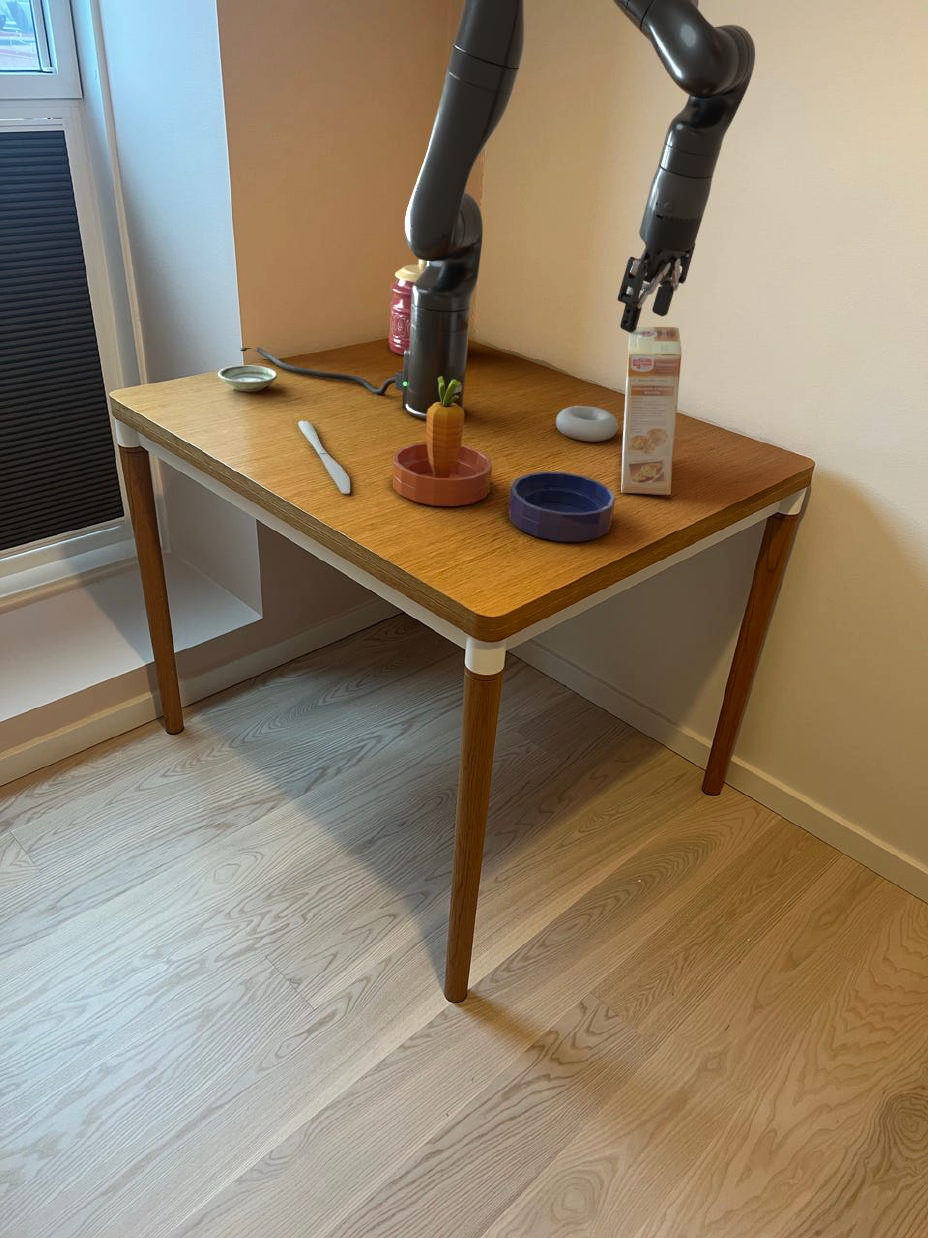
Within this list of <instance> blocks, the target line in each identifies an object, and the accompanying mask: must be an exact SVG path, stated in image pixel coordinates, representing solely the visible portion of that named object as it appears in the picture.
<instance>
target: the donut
mask: <svg viewBox="0 0 928 1238" xmlns="http://www.w3.org/2000/svg"><path fill="white" fill-rule="evenodd" d="M555 424H556V428H557V430H558V432H560V433H561V434H562V435H564V436H566V437H568V438H570V439H573V440H575V441H581V442H587V443H590V442H591V443H596V442H603V441H608V440H610V439H612V438H613V437H614V436H615V435H616V433H617V432H618V430H619V423H618V420H617V418H616V416H615V415H614V414H612V413H611V412H609V411H608V410H606V409H602V408H599V407H594V406H586V405H575V406H568V407H567V408H564V409H562V410H561V411H560V412H558V414H557V415H556V419H555Z"/></svg>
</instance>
